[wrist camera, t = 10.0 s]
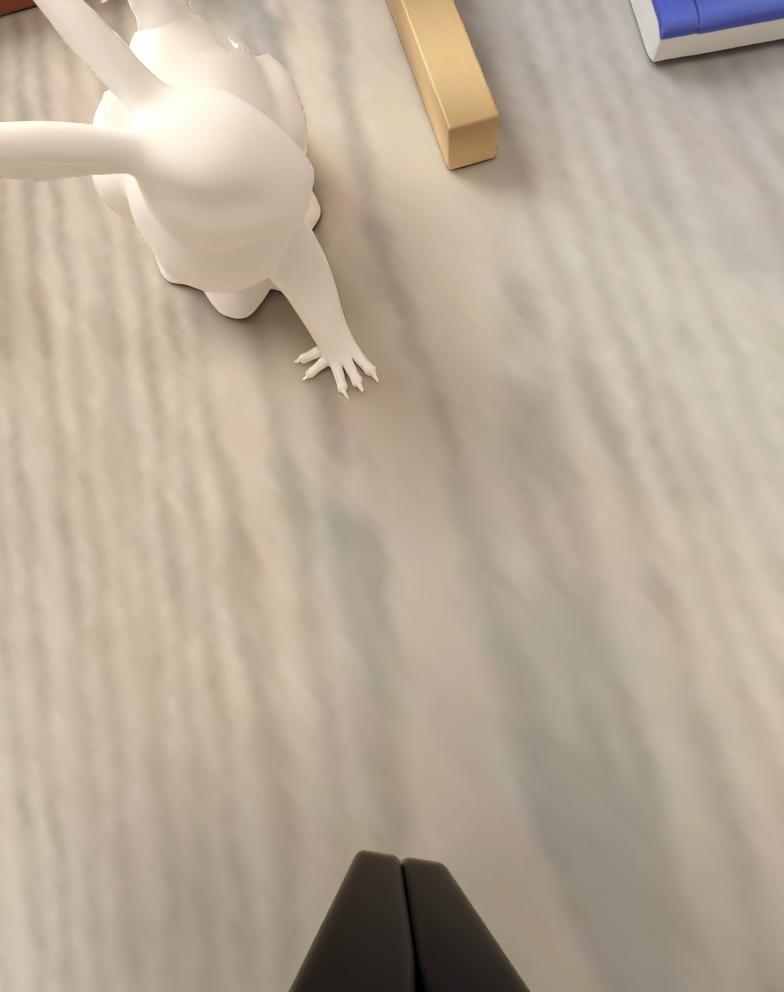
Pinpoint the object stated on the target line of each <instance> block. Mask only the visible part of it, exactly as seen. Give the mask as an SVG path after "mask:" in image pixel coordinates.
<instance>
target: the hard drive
mask: <svg viewBox="0 0 784 992" xmlns="http://www.w3.org/2000/svg"><path fill="white" fill-rule="evenodd" d="M630 1H631V4H632V7H633V11H634V14H635V16H636V20H637V23H638V26H639V29H640V32H641V35H642V38H643V41H644V45H645V48H646V50H647V53H648V56H649V57H650V59H651V60H652V61H653V62H657V61H661V60H666V59H672V58H677V57H682V56H690V55H697V54H703V53H708V52H714V51H719V50H724V49H729V48H735V47H740V46H746V45H751V44H756V43H762V42H767V41H772V40H778V39H784V0H630Z"/></svg>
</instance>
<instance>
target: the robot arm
mask: <svg viewBox="0 0 784 992" xmlns="http://www.w3.org/2000/svg"><path fill="white" fill-rule="evenodd" d="M289 992H530V991H529V989H528V988H527V986H526V985H525V983H524V982H523V980H522V979H521V977H520V976H519V974H518V973H517V971H516V970H515V968H514V967H513V965H512V964H511V962H510V961H509V959H508V958H507V956H506V955H505V953H504V952H503V950H502V949H501V948H500V946H499V945H498V943H497V942H496V940H495V939H494V937H493V936H492V934H491V933H490V931H489V930H488V928H487V927H486V925H485V924H484V922H483V921H482V919H481V918H480V916H479V915H478V913H477V912H476V910H475V909H474V907H473V906H472V905H471V903H470V902H469V900H468V899H467V897H466V896H465V894H464V893H463V891H462V890H461V888H460V887H459V885H458V884H457V882H456V881H455V879H454V878H453V876H452V875H451V873H450V872H449V870H448V869H447V868H446V867H445V866H444V865H443V864H441V863H439V862H434V861H428V860H422V859H416V858H410V857H408V858H405V859H403V860H401V862H400V860H399V859H398V858H397V857H396V856H395V855H391V854H385V853H378V852H372V851H366V850H362V851H359V852H358V853H357V854H356V855H355V857H354V859H353V861H352V864H351V866H350V868H349V870H348V872H347V874H346V876H345V878H344V880H343V882H342V884H341V886H340V888H339V890H338V892H337V894H336V896H335V898H334V900H333V902H332V904H331V906H330V908H329V911H328V913H327V915H326V917H325V919H324V921H323V923H322V925H321V927H320V929H319V931H318V933H317V935H316V937H315V939H314V941H313V943H312V945H311V947H310V949H309V951H308V953H307V956H306V958H305V960H304V962H303V964H302V966H301V968H300V970H299V972H298V974H297V976H296V978H295V980H294V982H293V984H292V986H291V988H290V990H289Z"/></svg>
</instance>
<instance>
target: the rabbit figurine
mask: <svg viewBox="0 0 784 992" xmlns="http://www.w3.org/2000/svg"><path fill="white" fill-rule="evenodd" d="M33 1H34V2H35V3H36V5H37V6H38V7H39V8H40V10H41V11H42V12H43V13H44V15H45V16H46V17H47V18H48V19H49V21H50V22H51V24H52V25H53V26H54V28H55V29H56V31H57V32H58V33H59V35H60V36H61V37H62V38H63V40H64V41H65V42H66V43H67V45H68V46H69V47H70V48H71V49H72V50H73V51H74V52H75V53H76V54H77V55H78V56H79V57H80V58H81V60H82V61H83V62H84V63H85V64H86V65H87V66H88V67H89V68H90V69H91V70H92V72H93V73H94V74H95V75H96V76H97V77H98V78H99V79H100V80H101V81H102V82H103V83H104V84H105V85H106V86H107V87H108V88H109V90H108V91H104V95H103V98H102V100H101V102H100V105H99V107H98V109H97V111H96V114H95V117H94V121H93V125H89V124H80V123H70V122H53V121H21V122H0V177H4V178H10V179H18V180H24V181H33V182H39V181H51V180H57V179H63V178H72V177H81V176H87V175H92V177H93V182H94V184H95V187H96V189H97V191H98V193H99V195H100V196H101V198H102V200H103V201H104V203H105V204H106V205H107V206H108V207H109V208H110V209H111V210H113V211H114V212H115V213H117V214H118V215H120V216H121V217H123V218H125V219H126V220H128V221H130V222H131V223H133V224H134V225H136V226H137V229H138V231H139V232H140V234H141V236H142V238H143V240H144V241H145V242H146V244H147V245H148V246H149V248H150V249H151V250H152V251H153V252H154V254H155V256H156V259H157V263H158V266H159V269H160V272H161V274H162V275H163V277H164V278H166V279H167V280H168V281H169V282H172V283H178V284H187V285H189V286H192V287H194V288H197V289H200V290H202V291H204V293H205V295H206V296H207V298H208V299H209V301H210V302H211V304H212V305H213V306H214V307H215V308H216V309H217V310H218V311H219V312H220V313H221V314H223V315H225V316H227V317H231V318H237V319H241V318H245V317H248V316H249V315H251V314H252V313H253V312H254V311H255V310H256V309H257V307H258V306H259V305H260V304H261V302H262V301H263V300H264V298H265V297H266V295H267V294H268V292H269V290H270V289H275V290H279V291H282V292H283V294H284V295H285V296H286V298H287V299H288V301H289V302H290V303H291V305H292V306H293V308H294V309H295V311H296V312H297V314H298V315H299V317H300V319H301V320H302V322H303V323H304V325H305V326H306V328H307V330H308V331H309V333H310V335H311V336H312V338H313V339H314V341H315V342H316V344H317V346H316V347H314V348H313V349H311V350H310V351H308V352H305V353H302V354H300V355H299V358H298V359H297V360H295V361H294V363H297V362H301V363H304V364H305V363H307V362H309V361H311V360H314V359H318V358H319V360H318V361H317V362H316V363H315V364H314V365H313V366H312V367H310V368H309V369H307V371H306V375H305V376H304V377H303V378H302V380H305V379H307V378H313V377H314V376H315V375H316V374H317V373H318V372H319V371H321V370H323V369H324V368H326V367H328V366H329V367H330V368H331V370H332V372H333V375H334V378H335V380H336V383H337V389H338V391H339V392H340V393H343V394H344V396H345V397H346V399H349V398H348V394H347V392H346V391H347V389H348V385H347V383H346V380H345V375H344V371H343V368H342V366H343V367H344V369H345V371H346V373H347V374H348V376H349V378H350V380H351V383H352V385H353V386H354V387H358V388H359V390H360V391H361V392H363V391H364V388H363V386H362V383H363V379H362V377H361V376H360V375H359V373H358V371H357V368H356V366H355V364H354V362H353V360H354V361H355V362H356V364H357V365H358V366H359V367H361V368H362V370H363V371H364V373H365V374H366V375H367V376H372V377H373V378H374V379H375V381H377V382H379V380H378V377H377V374H376V368H375V366H374V365H372V364H371V363H370V362H369V361H368V360H367V358H366V357H365V356H364V354H363V353H362V352H361V350H360V349H359V347H358V346H357V344H356V342H355V340H354V338H353V336H352V334H351V332H350V330H349V327H348V325H347V322H346V320H345V317H344V314H343V311H342V308H341V304H340V300H339V296H338V292H337V288H336V285H335V281H334V278H333V275H332V272H331V269H330V266H329V264H328V261H327V259H326V257H325V255H324V253H323V250H322V248H321V247H320V245H319V243H318V241H317V239H316V237H315V235H314V233H313V231H312V228H313V227H314V226H315V224H316V223H317V221H318V219H319V217H320V213H321V209H320V205H319V202H318V200H317V198H316V196H315V194H314V193H313V191H312V188H313V184H314V179H315V175H314V169H313V166H312V164H311V162H310V160H309V159H308V157H307V156H306V152H307V125H306V116H305V112H304V108H303V105H302V103H301V100H300V97H299V95H298V92H297V89H296V87H295V84H294V82H293V80H292V79H291V77H290V75H289V74H288V73H287V71H286V70H285V68H284V67H283V66H282V65H281V64H280V63H279V62H278V61H277V60H276V59H274V58H273V57H272V56H270V55H269V54H264V55H261V56H254V55H253V54H252V53H251V52H248V51H247V50H246V49H245V48H244V49H242V48H241V47H240V46H239V45H238V44H237V43H235V42H234V41H232V40H231V39H229V38H227V37H226V36H225V35H224V34H222V33H221V32H220V31H219V30H217V29H216V28H214V27H213V26H212V25H211V24H209V23H208V22H207V21H206V20H205V19H203V18H202V17H200V16H199V15H197V14H195V13H193V12H191V10H190V8H189V5H188V3H187V1H186V0H127V1H128V4H129V6H130V8H131V10H132V11H133V13H134V15H135V17H136V23H137V31H136V33H135V34H134V36H133V38H132V41H131V44H130V47H129V46H128V45H127V44H126V43H125V42H124V41H123V39H122V38H121V37H120V36H119V35H118V34H117V33H116V32H114V31H112V29H111V28H110V27H109V26H108V25H107V24H106V23H105V22H104V20H103V19H102V18H101V17H100V16H99V15H98V14H97V13H96V12H95V11H94V10H93V9H92V8H91V7H90V6H89V5H88V4H87V3H86V2H85V1H84V0H33ZM100 1H101V2H102V3H103V2H105V1H107V0H100Z"/></svg>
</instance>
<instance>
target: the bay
mask: <svg viewBox="0 0 784 992" xmlns="http://www.w3.org/2000/svg"><path fill="white" fill-rule="evenodd" d="M387 3H388V6H389V9H390V11H391V14H392V17H393V20H394V22H395V25H396V28H397V31H398V33H399V36H400V39H401V42H402V44H403V47H404V50H405V53H406V55H407V58H408V61H409V64H410V66H411V69H412V72H413V74H414V77H415V80H416V83H417V85H418V88H419V91H420V94H421V96H422V99H423V102H424V105H425V107H426V110H427V113H428V116H429V118H430V121H431V124H432V127H433V129H434V132H435V135H436V138H437V140H438V143H439V146H440V149H441V151H442V154H443V157H444V160H445V162H446V165H447V168H448V169H449V170H452V169H456V168H459V167H463V166H466V165H470V164H473V163H477V162H480V161H484V160H487V159H491V158H494V157H495V156H496V147H497V137H498V126H499V116H500V115H499V113H498V110H497V108H496V105H495V103H494V100H493V98H492V95H491V93H490V90H489V87H488V85H487V82H486V80H485V77H484V75H483V72H482V70H481V67H480V65H479V62H478V60H477V57H476V55H475V52H474V50H473V47H472V45H471V42H470V40H469V37H468V35H467V32H466V30H465V27H464V25H463V22H462V20H461V17H460V15H459V12H458V10H457V7H456V5H455V2H454V0H387ZM35 5H36V3H35V2H34V1H33V0H0V15H3V14H6V13H10V12H14V11H17V10H21V9H24V8H28V7H31V6H35Z"/></svg>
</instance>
